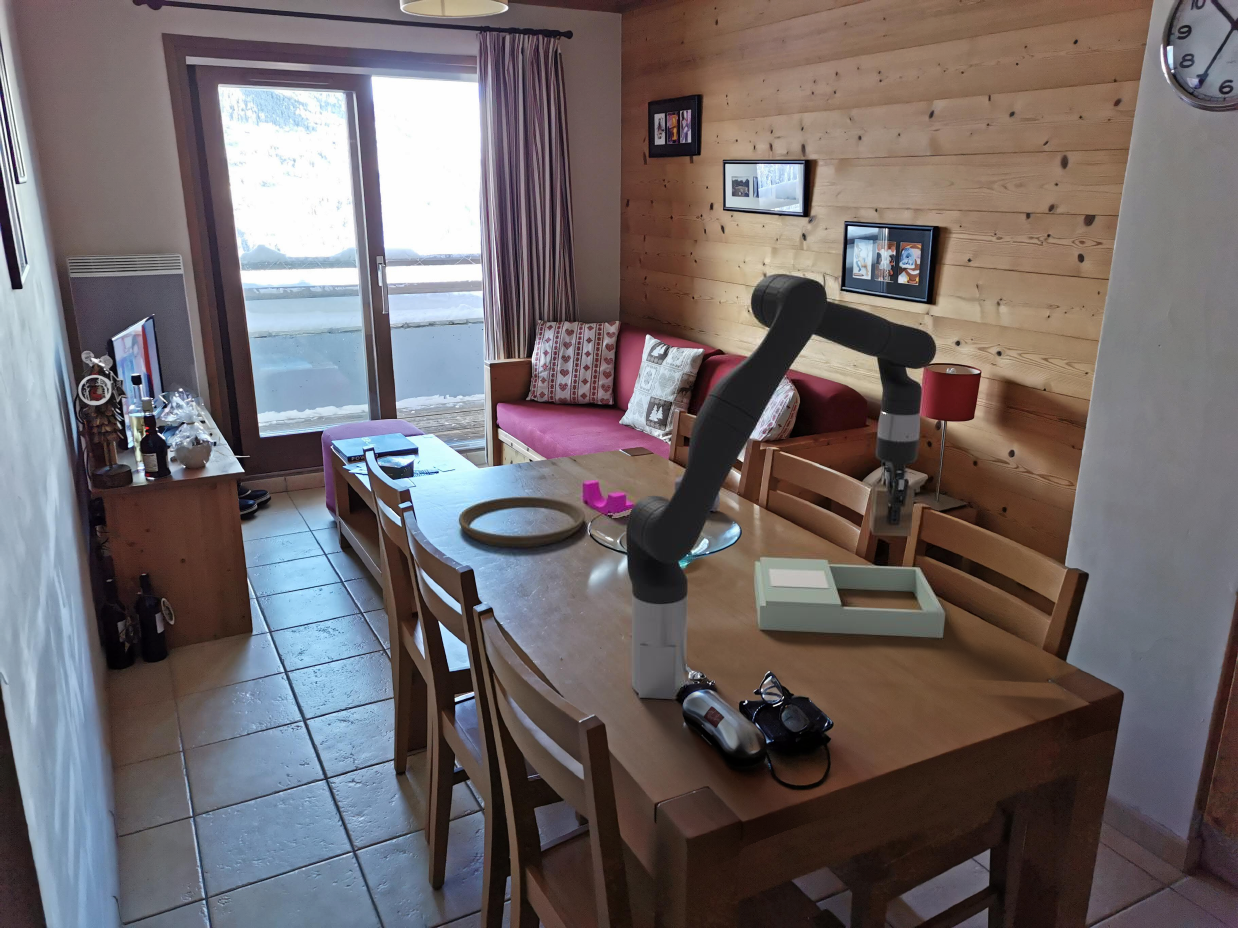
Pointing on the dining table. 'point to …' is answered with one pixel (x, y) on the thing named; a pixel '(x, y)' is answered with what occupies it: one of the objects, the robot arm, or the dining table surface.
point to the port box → (812, 602)
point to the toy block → (607, 505)
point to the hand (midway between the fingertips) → (890, 519)
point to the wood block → (880, 513)
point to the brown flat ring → (526, 540)
